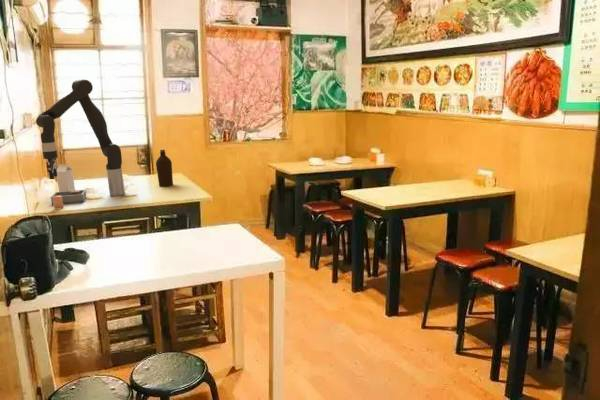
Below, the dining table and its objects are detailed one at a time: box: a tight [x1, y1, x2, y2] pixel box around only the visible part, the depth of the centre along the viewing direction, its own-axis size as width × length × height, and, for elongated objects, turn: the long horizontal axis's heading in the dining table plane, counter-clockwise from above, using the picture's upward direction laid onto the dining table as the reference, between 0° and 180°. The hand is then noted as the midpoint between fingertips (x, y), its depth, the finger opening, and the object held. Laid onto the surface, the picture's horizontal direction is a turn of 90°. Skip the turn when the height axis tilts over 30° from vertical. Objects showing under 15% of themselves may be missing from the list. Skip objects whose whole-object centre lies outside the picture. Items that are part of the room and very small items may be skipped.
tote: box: [50, 189, 87, 205], centre depth 308 cm, size 18×14×5 cm
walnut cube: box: [70, 189, 81, 195], centre depth 309 cm, size 5×5×5 cm
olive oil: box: [155, 149, 174, 188], centre depth 341 cm, size 11×11×25 cm
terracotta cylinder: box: [53, 195, 64, 209], centre depth 292 cm, size 5×5×7 cm
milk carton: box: [56, 164, 76, 192], centre depth 332 cm, size 7×7×19 cm
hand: (53, 177), depth 288 cm, fingers open, 8 cm apart
